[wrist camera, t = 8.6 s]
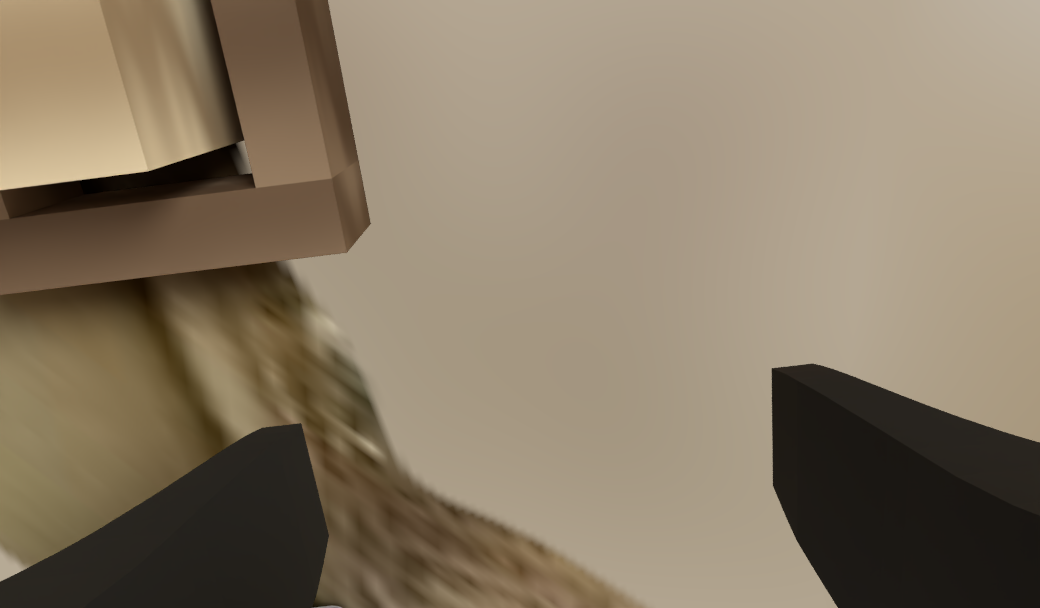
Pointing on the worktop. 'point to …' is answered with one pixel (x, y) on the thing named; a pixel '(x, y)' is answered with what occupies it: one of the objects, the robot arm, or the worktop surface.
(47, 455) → the worktop surface
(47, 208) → the brown square frame
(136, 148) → the oak block
